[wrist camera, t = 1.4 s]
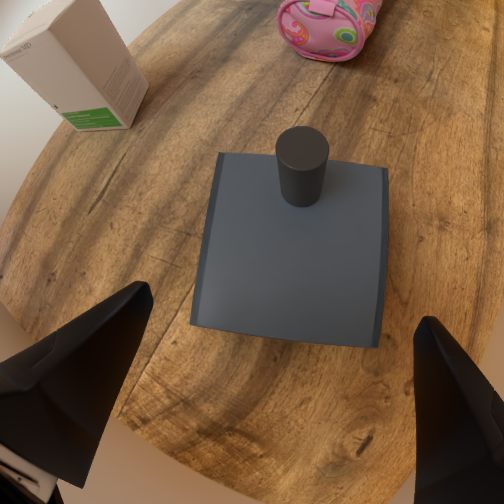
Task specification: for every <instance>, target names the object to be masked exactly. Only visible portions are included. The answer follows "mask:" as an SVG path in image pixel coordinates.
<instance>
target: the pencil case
mask: <svg viewBox="0 0 504 504" xmlns="http://www.w3.org/2000/svg"><path fill="white" fill-rule="evenodd" d="M382 2H383V0H285V1H284V2H283V3H282V4H281V5H280V8H279V10H278V14H277V25H278V29H279V31H280V33H281V35H282V37H283V38H284V40H285V41H286V42H287V43H288V44H289V45H290V46H291V47H292V48H293V49H294V50H296V51H297V52H298V53H299V54H301V55H302V56H304V57H306V58H311V59H315V60H320V61H329V62H340V61H346V60H349V59H351V58H353V57H355V56H356V55H357V54H359V52H360V51H361V50H362V48H363V46H364V42H365V40H366V39H367V37H368V36H369V35H370V34H371V32H372V31H373V29H374V26H375V23H376V16H377V14H378V12H379V10H380V8H381V5H382Z"/></svg>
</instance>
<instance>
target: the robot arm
mask: <svg viewBox="0 0 504 504" xmlns="http://www.w3.org/2000/svg"><path fill="white" fill-rule="evenodd" d="M152 308H153V297H152V293H151V290H150V286H149V284H148V283H147V282H143V281H135V282H133V283H131V284H130V285H128V286H127V287H125V288H123V289H122V290H120V291H118V292H117V293H115V294H113V295H112V296H110V297H109V298H107V299H105V300H104V301H102V302H100V303H99V304H97V305H96V306H94V307H92V308H91V309H89V310H88V311H86V312H84V313H83V314H81V315H80V316H78V317H77V318H75V319H73V320H72V321H70V322H69V323H67V324H65V325H64V326H62V327H61V328H59V329H58V330H57V331H55V332H53V333H51V334H50V335H48V336H47V337H45V338H44V339H42V340H40V341H39V342H37V343H35V344H34V345H32V346H30V347H28V348H27V349H25V350H23V351H21V352H20V353H18V354H16V355H14V356H12V357H10V358H8V359H7V360H5V361H3V362H1V363H0V504H64V502H63V500H62V497H61V494H60V492H59V489H58V486H57V484H56V483H57V480H58V478H60V479H62V480H64V481H66V482H68V483H70V484H72V485H74V486H77V487H79V488H81V489H82V488H83V487H84V485H85V481H86V479H87V476H88V473H89V470H90V467H91V464H92V461H93V459H94V456H95V453H96V450H97V448H98V445H99V442H100V439H101V437H102V434H103V432H104V429H105V426H106V424H107V421H108V419H109V416H110V414H111V411H112V409H113V406H114V404H115V401H116V399H117V397H118V394H119V392H120V389H121V387H122V385H123V382H124V380H125V378H126V375H127V373H128V371H129V368H130V366H131V364H132V362H133V359H134V357H135V355H136V353H137V350H138V348H139V346H140V343H141V340H142V338H143V335H144V332H145V329H146V326H147V323H148V320H149V317H150V314H151V311H152ZM413 350H414V372H413V376H414V394H415V411H416V481H415V494H414V504H504V402H503V400H502V399H501V398H500V396H499V395H498V393H497V392H496V391H494V388H493V387H492V386H491V384H490V383H489V381H488V380H487V379H486V377H485V376H484V375H483V373H482V372H481V371H480V370H479V368H478V367H477V366H476V364H475V363H474V362H473V361H472V359H471V358H470V357H469V356H468V354H467V353H466V352H465V351H464V349H463V348H462V347H461V346H460V345H459V343H458V342H457V341H456V340H455V339H454V337H453V336H452V335H451V334H450V333H449V331H448V330H447V329H446V328H445V327H444V326H443V325H442V323H441V322H440V321H439V320H438V319H437V318H436V317H435V316H424V317H423V318H422V319H421V321H420V323H419V325H418V327H417V329H416V331H415V333H414V337H413Z"/></svg>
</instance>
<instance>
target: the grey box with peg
mask: <svg viewBox="0 0 504 504" xmlns="http://www.w3.org/2000/svg"><path fill="white" fill-rule="evenodd" d="M275 149H276V155H266V154H249V153H223V152H219V153H218V158H217V163H216V168H215V173H214V178H213V183H212V188H211V193H210V199H209V204H208V209H207V215H206V221H205V226H204V232H203V238H202V244H201V250H200V256H199V262H198V268H197V275H196V281H195V288H194V295H193V302H192V309H191V316H190V323H189V324H190V325H193V326H199V327H204V328H210V329H215V330H221V331H227V332H233V333H240V334H246V335H253V336H260V337H267V338H274V339H282V340H290V341H298V342H307V343H316V344H326V345H337V346H349V347H363V348H378V347H379V340H380V333H381V325H382V317H383V308H384V299H385V288H386V276H387V260H388V237H389V180H388V168H383V167H377V166H370V165H363V164H356V163H349V162H341V161H333V160H328V155H329V145H328V142H327V140H326V138H325V137H324V136H323V135H322V134H321V133H320V132H319V131H317V130H316V129H314V128H311V127H307V126H295V127H292V128H289V129H287V130H285V131H284V132H283V133H282V134H281V135H280V136H279V138H278V139H277V142H276V147H275Z"/></svg>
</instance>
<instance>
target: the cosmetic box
mask: <svg viewBox="0 0 504 504" xmlns="http://www.w3.org/2000/svg"><path fill="white" fill-rule="evenodd" d="M0 57H1V58H2V59H3V60H4V61H5V62H6V63H7V64H8V65H9V66H10V67H11V68H12V69H13V70H14V71H15V72H16V73H17V74H18V75H19V76H20V77H21V78H22V79H23V80H24V81H25V82H26V83H27V84H28V85H29V86H30V87H31V88H32V89H33V90H34V91H35V92H37V93H38V94H39V95H40V96H41V97H42V98H43V99H44V100H45V101H46V102H47V103H48V104H49V105H50V106H51V107H52V108H53V109H54V110H55V111H56V112H57V113H58V114H59V115H60V116H61V117H63V118H64V119H65V120H66V121H67V122H68V123H69V124H70V125H71V126H72V127H73V128H74V129H75V130H76V131H78V132H83V131H98V130H114V129H130V127H131V125H132V123H133V120H134V118H135V116H136V113H137V111H138V109H139V107H140V104H141V102H142V100H143V98H144V96H145V94H146V92H147V89H148V87H149V84H148V83H147V81H146V79H145V78H144V76H143V74H142V72H141V71H140V69H139V67H138V66H137V64H136V62H135V61H134V59H133V57H132V56H131V54H130V52H129V51H128V49H127V47H126V45H125V44H124V42H123V40H122V39H121V37H120V35H119V33H118V32H117V30H116V28H115V27H114V25H113V24H112V22H111V20H110V18H109V16H108V15H107V13H106V11H105V10H104V8H103V6H102V4H101V3H100V1H99V0H53V1H52V2H50V3H48V4H46V5H44V6H42V7H40V8H39V9H37V10H35V11H33V12H32V13H31V14H30V16H28V17H27V19H26V20H25V21H24V22H23V23H22V24H21V26H20V27H19V28H18V29H17V30H16V32H15V33H14V34H13V36H11V38H10V39H9V40H8V42H7V43H6V44H5V45H4V47H3V48H2V50H1V51H0Z"/></svg>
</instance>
